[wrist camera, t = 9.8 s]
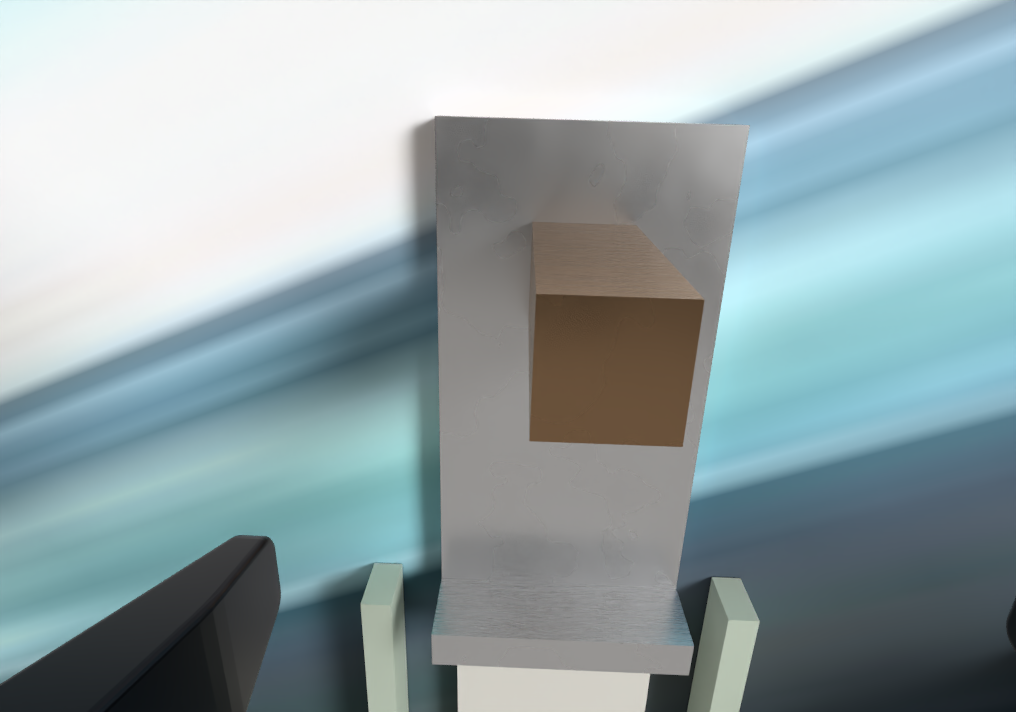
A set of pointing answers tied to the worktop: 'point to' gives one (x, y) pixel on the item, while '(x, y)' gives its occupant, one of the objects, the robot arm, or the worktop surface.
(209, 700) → the robot arm
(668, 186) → the metal bookend
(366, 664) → the corral
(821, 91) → the worktop surface
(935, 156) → the worktop surface
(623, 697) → the tile
